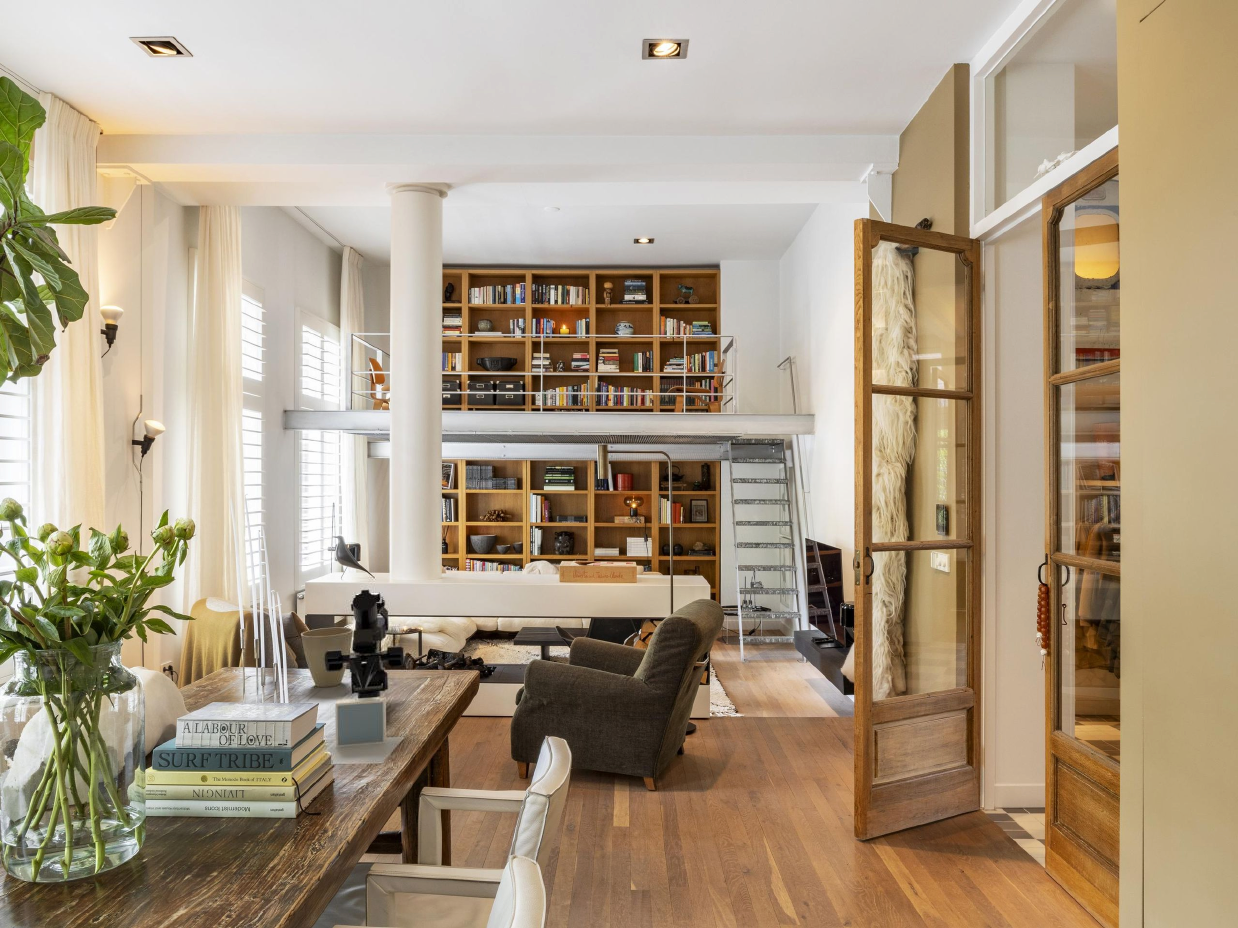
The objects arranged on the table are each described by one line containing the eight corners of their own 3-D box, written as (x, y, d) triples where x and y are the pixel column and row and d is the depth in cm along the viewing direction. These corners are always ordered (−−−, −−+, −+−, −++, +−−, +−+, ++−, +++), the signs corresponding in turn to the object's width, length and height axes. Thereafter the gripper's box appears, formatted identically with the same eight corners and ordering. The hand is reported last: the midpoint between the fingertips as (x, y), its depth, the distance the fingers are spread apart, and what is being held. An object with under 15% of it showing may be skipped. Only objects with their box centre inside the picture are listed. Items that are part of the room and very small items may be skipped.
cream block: (337, 742, 192) (336, 699, 193) (386, 738, 195) (385, 696, 195) (335, 747, 189) (335, 703, 189) (385, 743, 192) (384, 700, 192)
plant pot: (342, 675, 261) (342, 625, 261) (361, 684, 249) (360, 631, 250) (294, 683, 251) (294, 631, 252) (311, 693, 240) (310, 638, 240)
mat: (337, 739, 196) (337, 737, 196) (404, 738, 196) (404, 736, 196) (308, 765, 178) (308, 764, 178) (382, 764, 178) (382, 763, 178)
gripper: (324, 617, 203) (319, 672, 192) (403, 613, 207) (402, 667, 196) (329, 643, 211) (324, 697, 200) (404, 639, 215) (403, 692, 204)
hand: (363, 688), depth 200 cm, fingers closed
